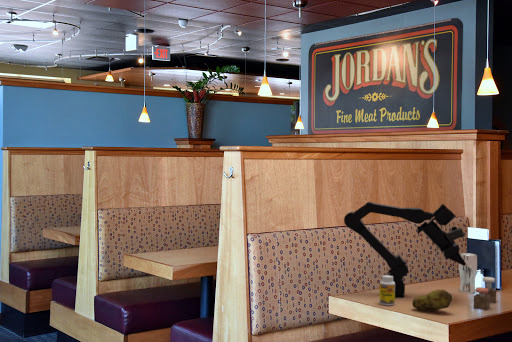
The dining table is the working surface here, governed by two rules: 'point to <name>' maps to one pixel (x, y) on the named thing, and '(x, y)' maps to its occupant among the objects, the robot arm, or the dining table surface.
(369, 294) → the dining table surface
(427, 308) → the potato
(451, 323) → the dining table surface
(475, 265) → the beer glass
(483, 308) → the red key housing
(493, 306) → the dining table surface
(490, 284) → the ivory key
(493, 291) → the ivory key housing
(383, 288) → the supplement bottle
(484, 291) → the red rounded knob
